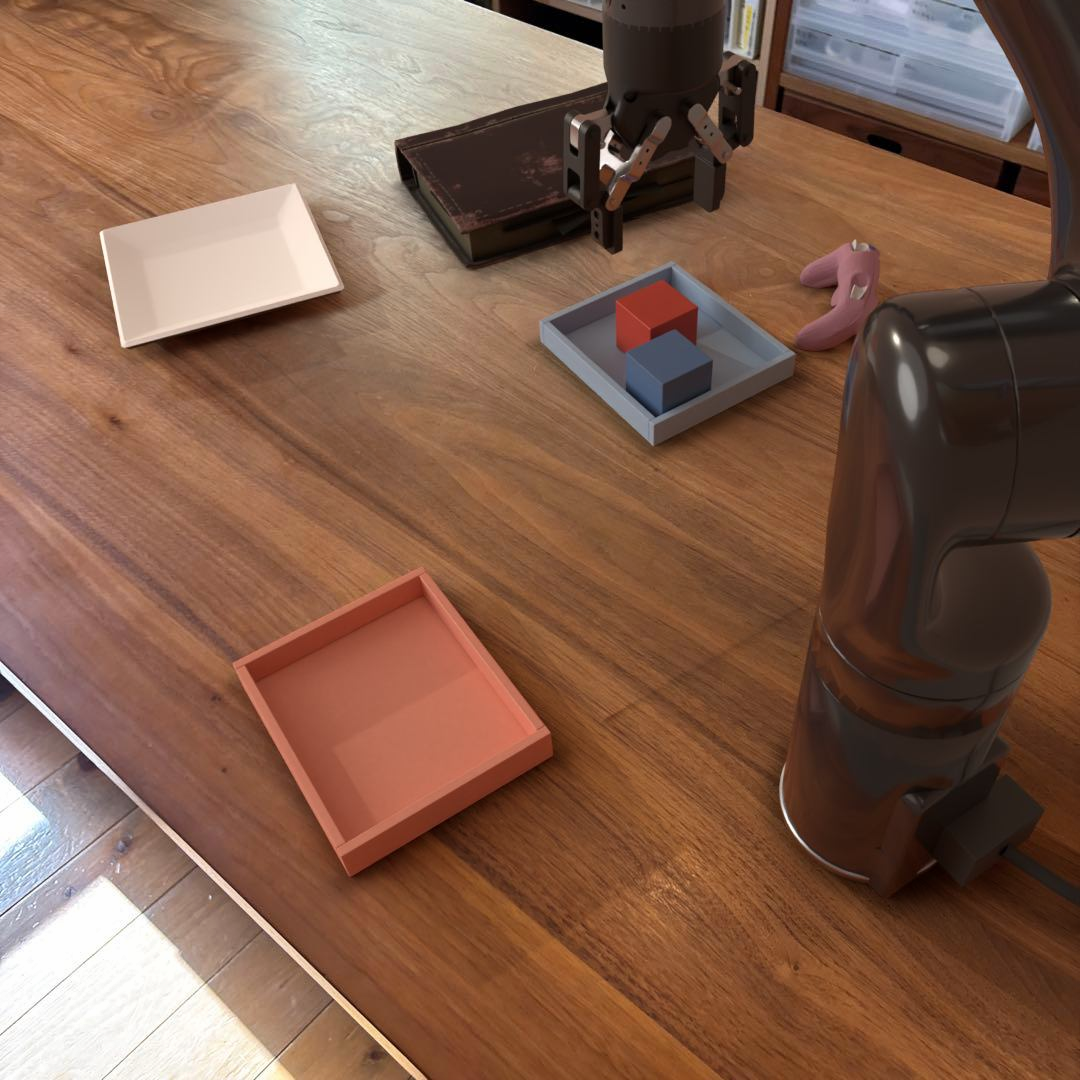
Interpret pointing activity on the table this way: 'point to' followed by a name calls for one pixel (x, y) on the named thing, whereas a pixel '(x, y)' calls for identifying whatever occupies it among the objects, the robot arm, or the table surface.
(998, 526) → the robot arm
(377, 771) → the red tray
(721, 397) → the blue tray
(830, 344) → the video game controller
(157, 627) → the table surface
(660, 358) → the blue block
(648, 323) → the red block
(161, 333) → the plate
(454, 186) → the diary
